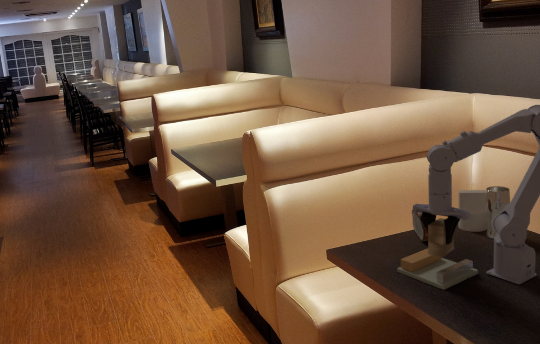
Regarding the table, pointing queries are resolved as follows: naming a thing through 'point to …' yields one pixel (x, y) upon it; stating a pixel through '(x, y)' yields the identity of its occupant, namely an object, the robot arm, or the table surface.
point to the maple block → (438, 239)
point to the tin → (419, 227)
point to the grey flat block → (442, 273)
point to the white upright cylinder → (473, 210)
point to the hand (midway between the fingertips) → (440, 241)
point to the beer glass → (495, 205)
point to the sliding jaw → (418, 260)
